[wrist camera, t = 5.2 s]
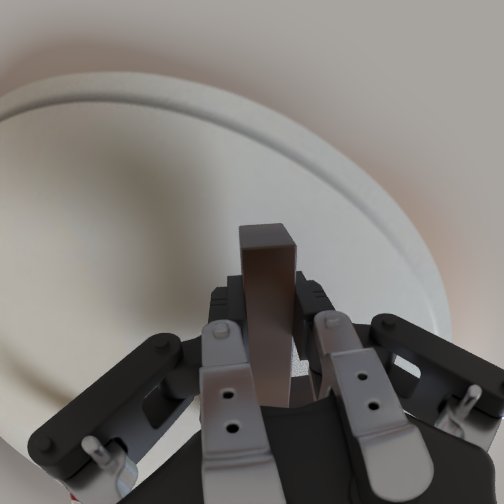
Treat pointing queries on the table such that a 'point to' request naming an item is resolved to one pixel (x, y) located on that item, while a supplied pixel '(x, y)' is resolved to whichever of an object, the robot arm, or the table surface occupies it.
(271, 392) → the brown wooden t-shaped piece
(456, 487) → the robot arm
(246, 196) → the table surface
